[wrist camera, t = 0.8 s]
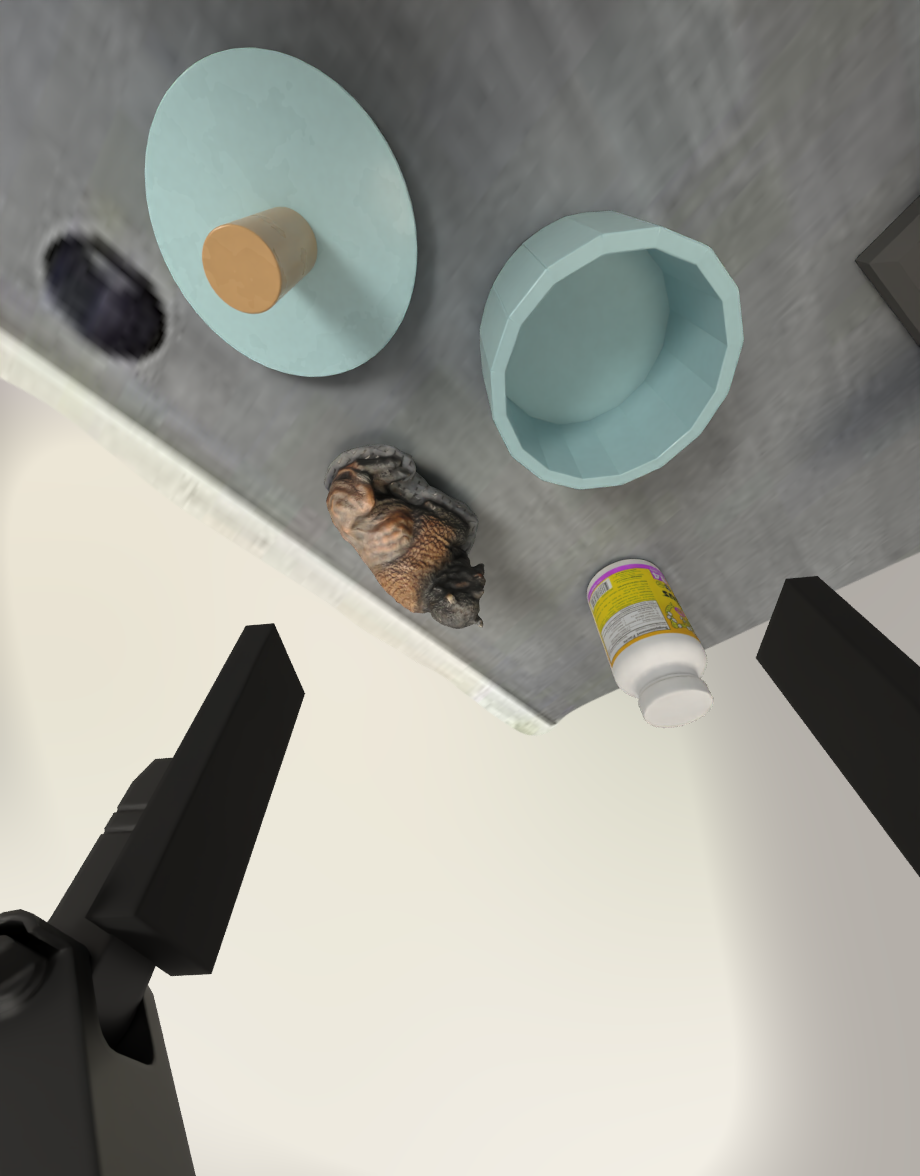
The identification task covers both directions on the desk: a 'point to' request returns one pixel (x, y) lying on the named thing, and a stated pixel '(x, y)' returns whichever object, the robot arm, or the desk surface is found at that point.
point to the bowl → (607, 347)
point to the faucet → (898, 267)
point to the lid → (281, 212)
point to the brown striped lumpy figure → (407, 533)
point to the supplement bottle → (650, 643)
